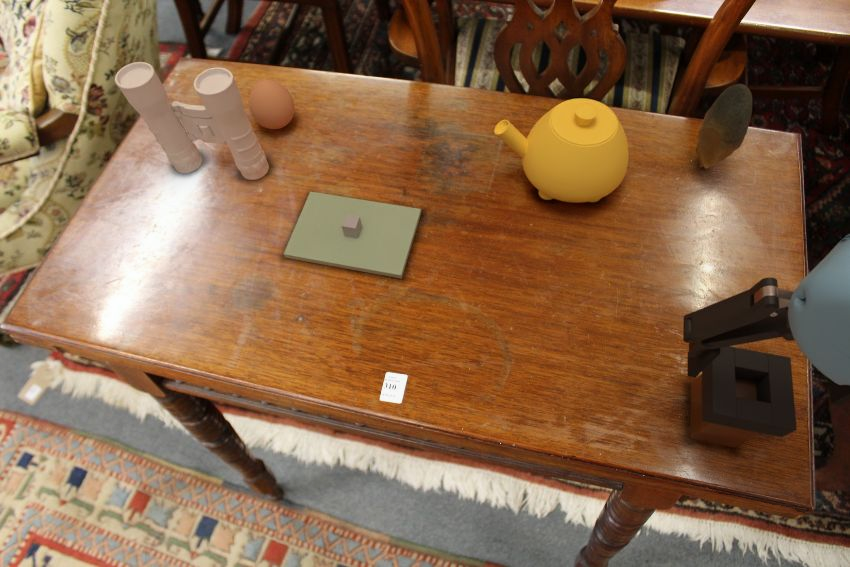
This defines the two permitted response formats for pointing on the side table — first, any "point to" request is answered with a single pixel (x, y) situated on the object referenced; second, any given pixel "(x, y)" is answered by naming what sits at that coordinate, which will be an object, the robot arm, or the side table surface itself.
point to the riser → (716, 431)
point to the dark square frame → (759, 416)
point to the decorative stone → (724, 125)
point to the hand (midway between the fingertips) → (760, 378)
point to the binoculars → (195, 118)
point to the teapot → (572, 151)
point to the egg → (271, 104)
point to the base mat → (354, 234)
